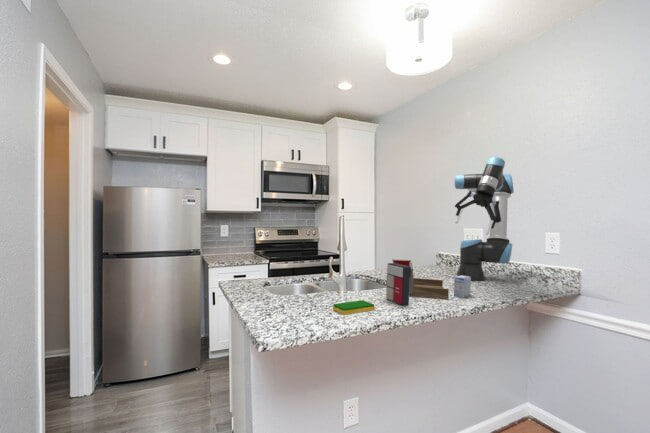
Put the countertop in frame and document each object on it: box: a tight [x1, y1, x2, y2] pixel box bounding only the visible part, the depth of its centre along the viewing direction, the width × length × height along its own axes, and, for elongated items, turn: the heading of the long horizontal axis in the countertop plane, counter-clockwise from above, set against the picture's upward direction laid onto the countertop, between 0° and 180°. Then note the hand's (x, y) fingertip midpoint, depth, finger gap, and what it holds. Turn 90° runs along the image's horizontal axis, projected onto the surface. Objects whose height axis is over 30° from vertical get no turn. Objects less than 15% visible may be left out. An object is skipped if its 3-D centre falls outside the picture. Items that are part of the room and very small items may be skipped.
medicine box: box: [453, 275, 472, 299], centre depth 137 cm, size 8×4×9 cm, turn 134°
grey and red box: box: [385, 262, 411, 306], centre depth 124 cm, size 11×4×15 cm, turn 23°
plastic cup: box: [391, 258, 412, 266], centre depth 171 cm, size 11×11×12 cm
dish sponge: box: [332, 299, 375, 316], centre depth 111 cm, size 7×14×2 cm, turn 120°
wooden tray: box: [409, 262, 449, 300], centre depth 143 cm, size 22×16×12 cm
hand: (471, 228), depth 138 cm, fingers open, 13 cm apart
